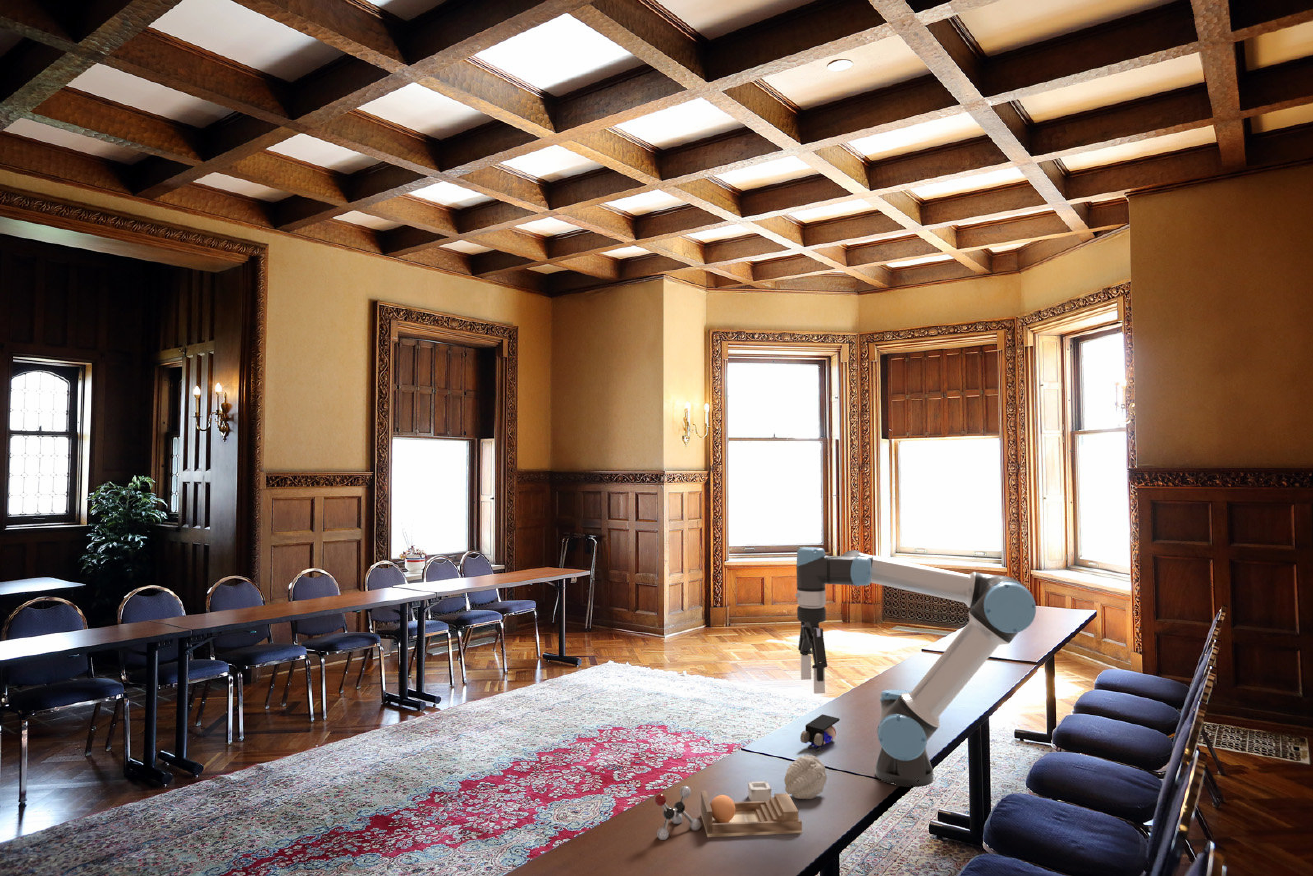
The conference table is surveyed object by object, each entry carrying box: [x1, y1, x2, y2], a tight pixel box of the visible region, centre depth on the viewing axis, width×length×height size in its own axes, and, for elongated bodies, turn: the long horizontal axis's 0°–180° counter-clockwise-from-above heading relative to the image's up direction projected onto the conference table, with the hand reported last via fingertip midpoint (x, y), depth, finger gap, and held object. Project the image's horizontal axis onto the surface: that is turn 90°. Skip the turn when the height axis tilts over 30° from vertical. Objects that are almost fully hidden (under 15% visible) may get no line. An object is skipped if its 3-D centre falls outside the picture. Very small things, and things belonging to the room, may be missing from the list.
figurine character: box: [799, 714, 840, 752], centre depth 244 cm, size 7×8×15 cm
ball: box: [710, 794, 735, 823], centre depth 189 cm, size 6×6×6 cm
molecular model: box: [654, 785, 702, 841], centre depth 186 cm, size 8×12×11 cm
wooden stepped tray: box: [700, 790, 803, 838], centre depth 190 cm, size 22×12×6 cm, turn 94°
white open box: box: [747, 781, 772, 802], centre depth 204 cm, size 5×5×4 cm
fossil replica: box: [783, 754, 828, 800], centre depth 206 cm, size 12×8×10 cm
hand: (812, 686), depth 213 cm, fingers open, 13 cm apart
